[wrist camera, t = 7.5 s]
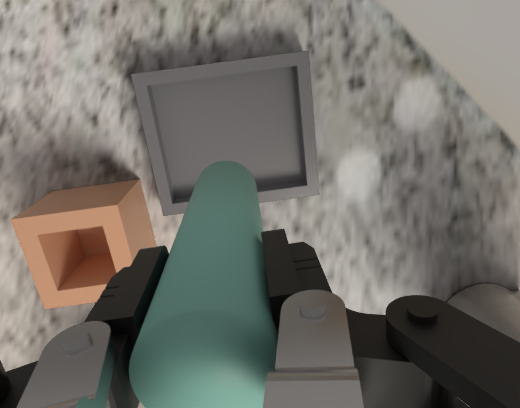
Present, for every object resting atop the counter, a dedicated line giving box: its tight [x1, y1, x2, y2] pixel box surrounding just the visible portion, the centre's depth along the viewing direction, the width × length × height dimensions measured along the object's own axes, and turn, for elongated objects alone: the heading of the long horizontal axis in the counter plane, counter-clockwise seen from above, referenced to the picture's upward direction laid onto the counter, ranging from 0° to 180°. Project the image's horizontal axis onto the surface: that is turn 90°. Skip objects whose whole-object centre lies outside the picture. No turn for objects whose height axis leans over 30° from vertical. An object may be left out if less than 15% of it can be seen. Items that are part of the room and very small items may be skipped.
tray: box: [131, 51, 320, 216], centre depth 33 cm, size 14×12×2 cm
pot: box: [11, 179, 156, 309], centre depth 33 cm, size 8×8×7 cm
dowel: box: [129, 161, 278, 408], centre depth 13 cm, size 3×3×12 cm
